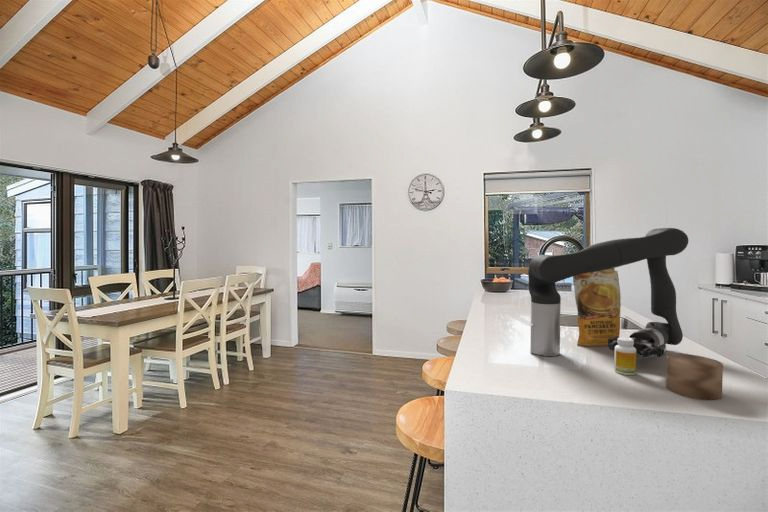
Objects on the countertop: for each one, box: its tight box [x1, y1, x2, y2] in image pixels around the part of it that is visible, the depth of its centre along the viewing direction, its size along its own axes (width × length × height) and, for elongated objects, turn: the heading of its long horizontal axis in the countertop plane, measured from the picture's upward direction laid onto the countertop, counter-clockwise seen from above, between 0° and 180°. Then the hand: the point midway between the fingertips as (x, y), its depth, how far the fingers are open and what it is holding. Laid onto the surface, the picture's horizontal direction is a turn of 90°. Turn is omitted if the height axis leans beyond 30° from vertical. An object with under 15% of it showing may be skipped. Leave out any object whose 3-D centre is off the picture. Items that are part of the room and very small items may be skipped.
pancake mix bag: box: [572, 268, 622, 347], centre depth 141 cm, size 7×19×28 cm, turn 94°
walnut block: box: [665, 353, 724, 401], centre depth 98 cm, size 11×11×8 cm
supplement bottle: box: [613, 337, 637, 376], centre depth 112 cm, size 5×5×10 cm
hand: (627, 350), depth 112 cm, fingers open, 8 cm apart
